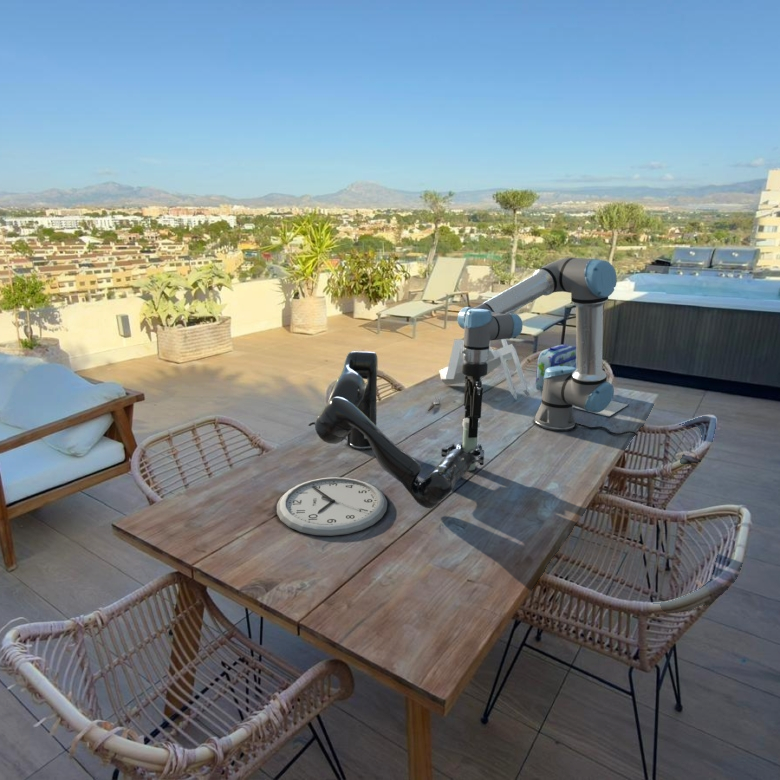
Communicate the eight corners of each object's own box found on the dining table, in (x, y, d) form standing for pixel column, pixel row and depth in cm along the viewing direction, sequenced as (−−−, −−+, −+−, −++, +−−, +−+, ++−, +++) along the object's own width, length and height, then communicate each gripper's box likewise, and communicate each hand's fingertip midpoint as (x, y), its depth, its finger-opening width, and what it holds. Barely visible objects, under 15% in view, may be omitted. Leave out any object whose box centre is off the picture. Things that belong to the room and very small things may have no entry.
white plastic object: (461, 429, 252) (437, 405, 227) (444, 352, 274) (420, 323, 250) (535, 404, 240) (518, 377, 215) (510, 326, 262) (492, 293, 237)
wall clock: (392, 527, 129) (268, 531, 127) (391, 533, 130) (269, 537, 127) (383, 473, 158) (282, 475, 155) (383, 478, 158) (282, 480, 156)
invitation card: (608, 416, 214) (573, 407, 224) (608, 416, 214) (573, 408, 224) (628, 404, 229) (594, 396, 238) (628, 405, 229) (594, 397, 238)
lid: (479, 423, 165) (480, 418, 164) (479, 429, 160) (479, 423, 159) (463, 422, 166) (463, 416, 165) (461, 428, 161) (462, 422, 160)
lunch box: (552, 397, 237) (557, 352, 231) (531, 392, 245) (535, 348, 238) (579, 386, 255) (584, 344, 249) (558, 381, 262) (563, 340, 256)
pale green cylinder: (475, 465, 168) (479, 421, 164) (474, 471, 164) (477, 426, 160) (462, 463, 169) (464, 419, 165) (460, 469, 165) (462, 424, 161)
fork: (425, 411, 216) (425, 407, 215) (435, 400, 230) (435, 396, 230) (431, 412, 215) (431, 408, 214) (441, 401, 229) (441, 396, 229)
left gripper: (478, 459, 148) (494, 438, 163) (431, 449, 154) (451, 430, 169) (476, 482, 151) (492, 460, 165) (430, 472, 157) (450, 451, 171)
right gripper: (456, 354, 165) (452, 423, 172) (469, 369, 147) (464, 445, 154) (480, 354, 165) (475, 423, 172) (495, 369, 148) (489, 445, 155)
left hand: (471, 445), depth 167 cm, fingers closed on pale green cylinder, 4 cm apart
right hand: (470, 433), depth 163 cm, fingers closed on lid, 5 cm apart
